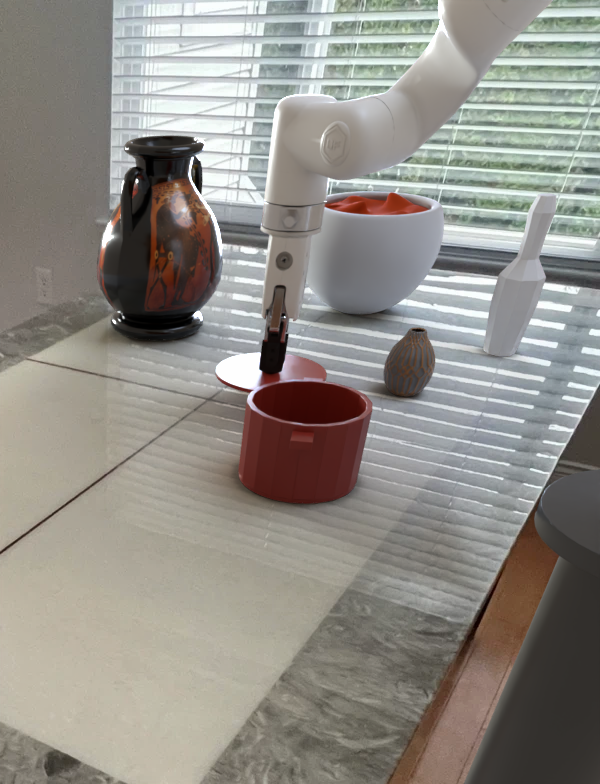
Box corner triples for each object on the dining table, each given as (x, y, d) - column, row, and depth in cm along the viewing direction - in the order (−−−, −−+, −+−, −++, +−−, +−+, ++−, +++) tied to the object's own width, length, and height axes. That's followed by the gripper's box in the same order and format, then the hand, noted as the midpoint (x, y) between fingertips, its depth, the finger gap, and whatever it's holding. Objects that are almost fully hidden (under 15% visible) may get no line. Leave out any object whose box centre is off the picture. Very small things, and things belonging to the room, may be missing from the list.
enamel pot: (358, 449, 111) (374, 376, 105) (352, 520, 97) (370, 441, 91) (248, 439, 114) (257, 368, 108) (227, 507, 100) (236, 429, 94)
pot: (266, 312, 156) (280, 201, 144) (327, 282, 169) (345, 178, 157) (390, 336, 144) (416, 218, 132) (445, 302, 157) (474, 191, 145)
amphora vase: (149, 303, 162) (156, 127, 143) (241, 325, 150) (262, 137, 132) (71, 331, 151) (68, 144, 132) (164, 357, 139) (175, 156, 121)
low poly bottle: (497, 360, 134) (547, 201, 119) (469, 348, 138) (513, 193, 124) (529, 354, 135) (581, 196, 121) (500, 342, 140) (547, 188, 125)
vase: (383, 380, 129) (397, 320, 123) (430, 386, 126) (446, 325, 121) (375, 396, 124) (388, 334, 118) (424, 403, 122) (440, 339, 116)
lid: (328, 364, 123) (337, 316, 118) (322, 404, 112) (331, 352, 107) (223, 356, 126) (227, 309, 122) (206, 394, 115) (211, 344, 111)
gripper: (318, 233, 99) (293, 390, 111) (326, 204, 110) (303, 349, 123) (254, 230, 101) (237, 385, 113) (269, 202, 112) (251, 346, 124)
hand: (271, 365), depth 118 cm, fingers closed on lid, 2 cm apart
